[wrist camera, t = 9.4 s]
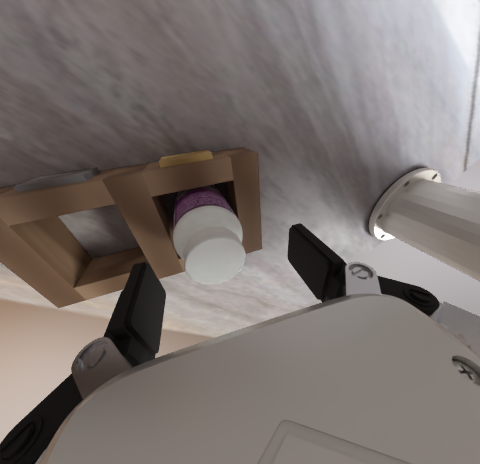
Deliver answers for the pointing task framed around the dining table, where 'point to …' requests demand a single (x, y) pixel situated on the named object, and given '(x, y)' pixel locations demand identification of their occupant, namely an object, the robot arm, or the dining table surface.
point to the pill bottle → (207, 235)
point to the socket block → (133, 211)
